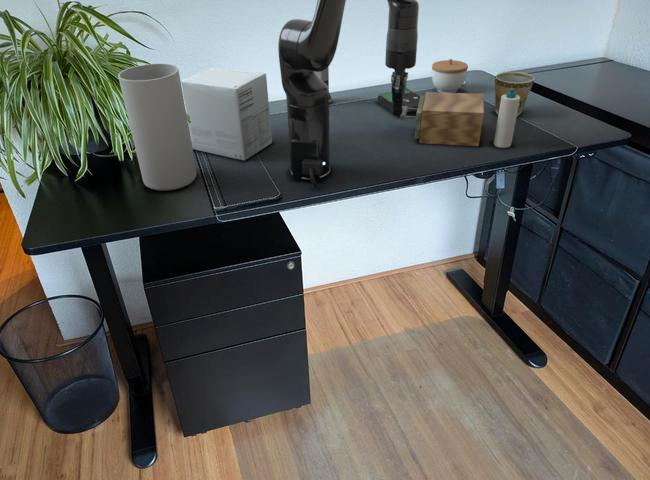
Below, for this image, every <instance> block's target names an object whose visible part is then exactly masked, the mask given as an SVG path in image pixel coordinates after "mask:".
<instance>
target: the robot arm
mask: <svg viewBox="0 0 650 480" xmlns="http://www.w3.org/2000/svg"><path fill="white" fill-rule="evenodd" d="M346 1H347V0H317V1H316V6H315V11H314V14H313V18H312V20H308V19H300V18H293V19H289V20H288V21H286V22H285V23H284V25H283V26H282V28H281V30H280V32H279V35H278V42H277V43H278V45H277V48H278V49H277V51H278V62H279V70H280V79H281V85H282V86H281V87H282V89H283V92H284V94H285V97H286V112H287V128H288V129H287V130H288V145H289V163H290V169H289V170H290V175H291V177H292V179H293V180H294V181H306V182H307V181H308V182H311V184H312V186H313V187H314V188H317V187H318V182H320V181H321V180H322V179H324V178H326V177H328V176H329V175H330V174H331V155H330V153H331V152H330V103H329V93H330V89H329V90H328V87H327V85H326V84H325V83H324V82H323V81H322V80H320V79H319V78H318V76H317V75H316V73H315V72H321V71H324V70H325V69H326V68H327V67H328V68H329V67H330V65H332V64H331V63H333V60H334V57H335V55H336V53H337V49H338V44H339V39H340V34H341V30H342V29H341V28H342V24H343V18H344V13H345V8H346ZM386 1H387V6H388V18H387V19H388V20H387V32H386V37H385V39H386V42H385V60H384V61H385V63H384V64H385V66H386V67H387V68H389V69H393V70H394V71H392V74H391V75H390V82H391V92H392V102H394V104H393V112H392V115H393V116H394V117H399V116H401V113H402V103H403V98H404V94H405V90H406V89H407V81H408V78H409V72H408V71H406V70H409V69H413V68H414V67H415V66H416V63H417V51H418V40H419V33H418V32H419V31H418V27H419V26H418V25H419V12H420V4H419V2H418V0H386ZM314 71H315V72H314Z"/></svg>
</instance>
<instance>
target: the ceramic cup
mask: <svg viewBox="0 0 650 480" xmlns="http://www.w3.org/2000/svg"><path fill="white" fill-rule="evenodd" d="M534 81H535V77H534V75H532V74H530V73H526V72H520V71H505V72H504V71H503V72H499V73H497V74H496V75H495V77H494V94H495V95H494V97H495V98H494V99H495V100H494V102H495V104H494V107H495V110H494V111H495V114H497V115H498V114H499V108H500V103H501V97H502V95H505V94H507V92H508V91H510V89H514V92H516V95H518V96H520V101H519V106H518V112H517V117H519V116H520V115H521V114H522V112H523V110H524V107H525V104H526V101H527V99H528V96H529V94H530V92H531V90H532V87H533V84H534Z"/></svg>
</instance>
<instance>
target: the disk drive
mask: <svg viewBox="0 0 650 480" xmlns="http://www.w3.org/2000/svg"><path fill="white" fill-rule="evenodd" d="M420 96H421V95H418V94H417V93H416V92H414V91H412V90H410V89H409V88H406V90H405V94H404V98H403V103H402V110H403V107H404V106H407V107H408V108H418V105H419V100H420ZM377 102H378V103H379V104H380V105H382V106H383V107H384V108H386V109H388V110H389V111H390V112H391V113H393V104H394V102H392V91H388V92H383V93H381V92H380V93H379V94H378V95H377ZM416 113H417V111H407V115H406V116H416ZM398 117H399V118H400V116H398Z"/></svg>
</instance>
